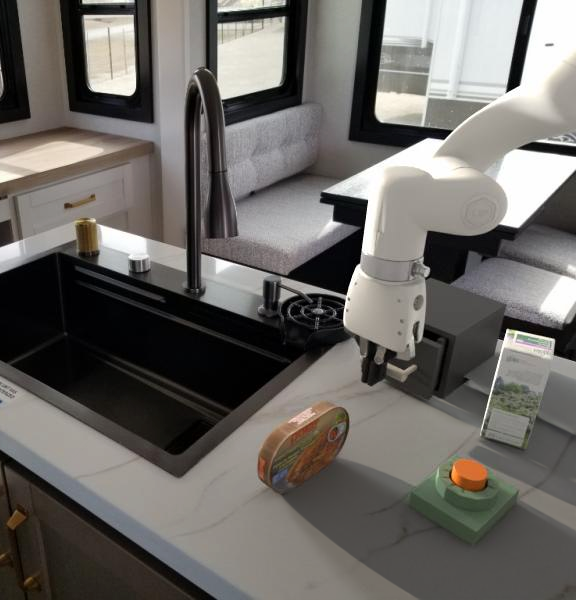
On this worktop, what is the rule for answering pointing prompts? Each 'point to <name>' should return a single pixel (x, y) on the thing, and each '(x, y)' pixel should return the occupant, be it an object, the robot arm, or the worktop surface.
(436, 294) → the grey drawer box
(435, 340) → the dark grey drawer
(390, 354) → the robot arm
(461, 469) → the button
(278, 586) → the worktop surface
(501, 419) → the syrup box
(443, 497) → the green button base
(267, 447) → the tin
